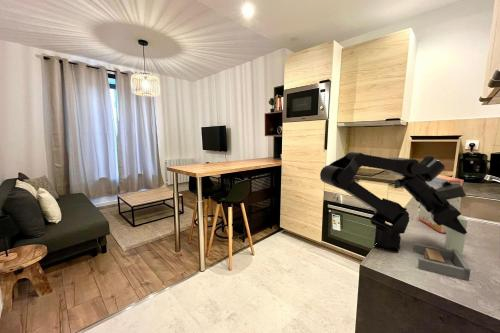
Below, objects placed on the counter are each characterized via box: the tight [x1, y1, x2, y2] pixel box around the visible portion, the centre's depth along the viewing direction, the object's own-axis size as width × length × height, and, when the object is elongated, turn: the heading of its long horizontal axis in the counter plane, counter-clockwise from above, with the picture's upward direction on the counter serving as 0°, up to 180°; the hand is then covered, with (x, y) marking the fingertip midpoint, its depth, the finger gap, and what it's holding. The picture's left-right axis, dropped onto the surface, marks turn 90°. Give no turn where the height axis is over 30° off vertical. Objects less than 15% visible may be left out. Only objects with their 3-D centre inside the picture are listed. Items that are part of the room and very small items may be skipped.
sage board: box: [444, 214, 469, 257], centre depth 65 cm, size 3×5×11 cm, turn 148°
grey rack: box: [412, 242, 471, 281], centre depth 60 cm, size 10×11×3 cm
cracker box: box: [418, 174, 465, 234], centre depth 85 cm, size 14×6×21 cm, turn 168°
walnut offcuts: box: [423, 248, 446, 264], centre depth 60 cm, size 4×8×3 cm, turn 149°
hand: (462, 230), depth 64 cm, fingers closed on sage board, 5 cm apart
